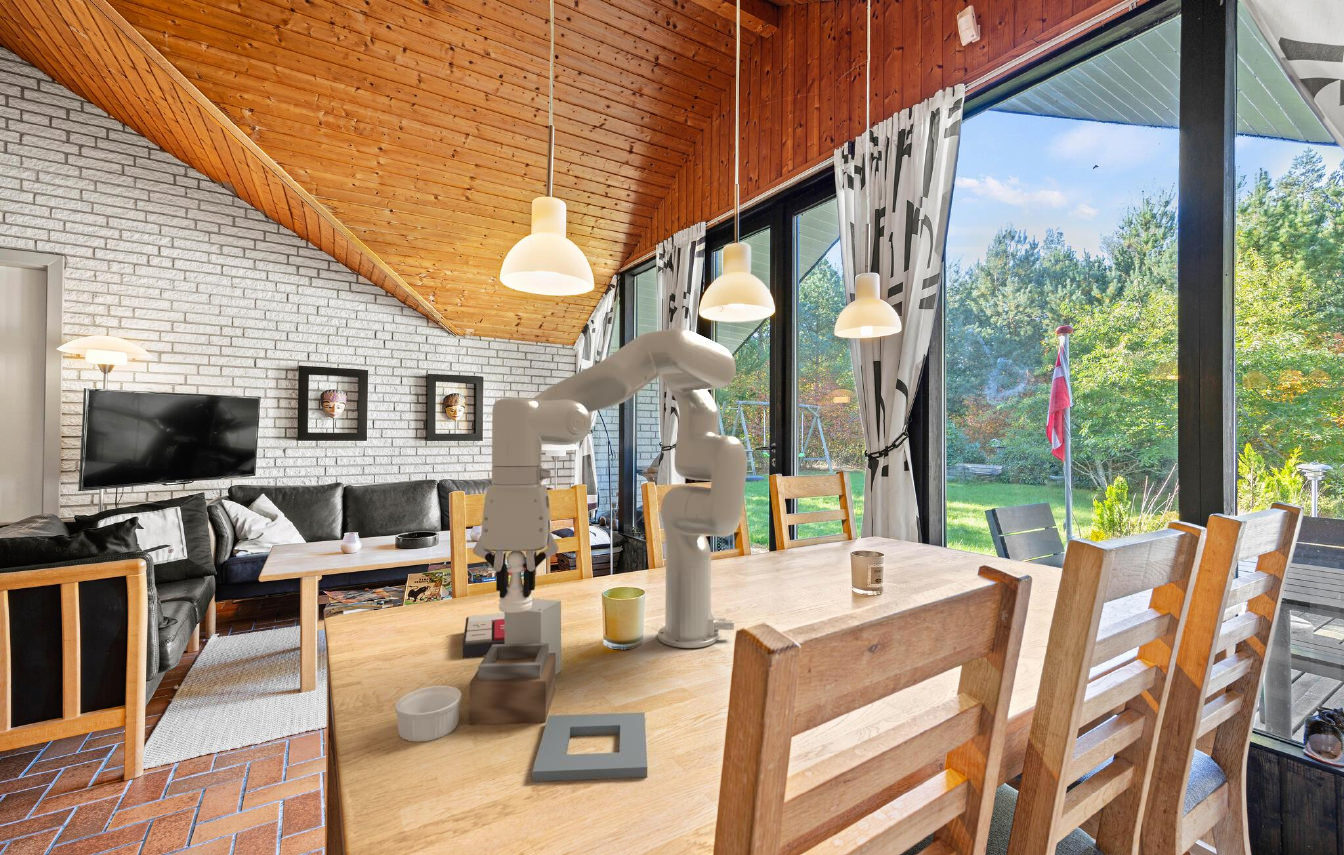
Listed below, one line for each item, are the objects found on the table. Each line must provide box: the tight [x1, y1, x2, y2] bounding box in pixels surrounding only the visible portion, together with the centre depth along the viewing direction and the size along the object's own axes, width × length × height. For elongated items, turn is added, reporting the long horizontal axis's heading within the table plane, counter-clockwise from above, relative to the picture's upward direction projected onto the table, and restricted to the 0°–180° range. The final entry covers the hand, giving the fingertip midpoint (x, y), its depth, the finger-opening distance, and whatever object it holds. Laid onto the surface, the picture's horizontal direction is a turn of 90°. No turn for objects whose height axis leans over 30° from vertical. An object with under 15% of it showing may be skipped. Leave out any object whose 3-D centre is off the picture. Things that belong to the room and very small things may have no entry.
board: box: [531, 711, 648, 782], centre depth 77 cm, size 14×14×1 cm
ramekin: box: [394, 685, 463, 742], centre depth 82 cm, size 9×9×4 cm
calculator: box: [462, 612, 505, 659], centre depth 117 cm, size 11×4×15 cm
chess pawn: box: [498, 551, 533, 613], centre depth 89 cm, size 5×5×9 cm
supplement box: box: [503, 597, 562, 676], centre depth 100 cm, size 7×7×13 cm
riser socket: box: [468, 643, 556, 726], centre depth 89 cm, size 11×11×8 cm
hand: (515, 593), depth 89 cm, fingers closed on chess pawn, 3 cm apart
